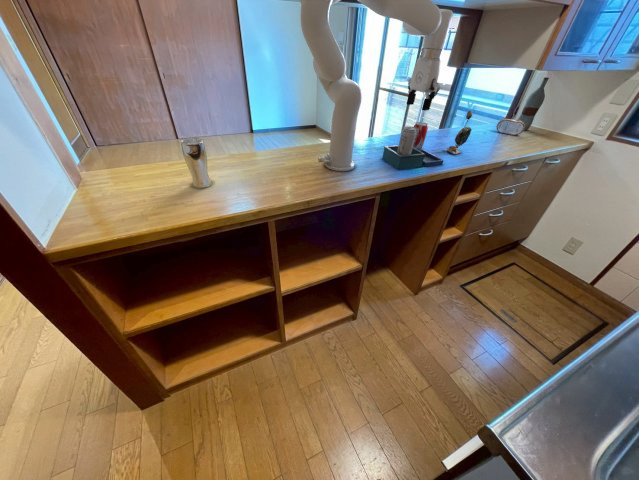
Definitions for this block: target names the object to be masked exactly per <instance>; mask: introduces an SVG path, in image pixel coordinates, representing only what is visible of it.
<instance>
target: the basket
mask: <svg viewBox="0 0 639 480" xmlns="http://www.w3.org/2000/svg"><path fill="white" fill-rule="evenodd" d="M398 146H399V144H395V145H394V144H393V145H384V147H383V153H382V157H381V160H383V161H384V162H385V163H387V164H388V165H390V166H392V167H393V168H394V169H396V170H398V171H400V170H408V169H416V168H422V167H423V166H422V163H423V160H424V157H425V155H426V154H424V153H423V152H421V151H419V150H420V149H419V150H417V149H415V148H414V147H413V148H412V152H411V155H404V156H401V155H400V154H398V153H397V150H398Z"/></svg>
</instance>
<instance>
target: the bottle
mask: <svg viewBox="0 0 639 480" xmlns="http://www.w3.org/2000/svg"><path fill="white" fill-rule="evenodd" d="M549 80H550V77H545V76H544V77H543V79H542V81H541V83H540V85H539V87H537V88H536V89H535V90H534V91H533V92H532V93H531V94H529V96H528V97H527V99H526V101H525V103H524V105H523V108H522V111H521V112H520V115H519V116H518V118H517V119H516V120H518V121H522V122H524V124H525V128H524V131H523V132H525V131H528V130H529V129H530V127H532V124H533V122H534V120H535V117H536V115H537V114H538V112H539V110H540V108H541V107H542V105H543V103H544V101H545V98H546V94H545V87H546V85H547V83H548V81H549Z"/></svg>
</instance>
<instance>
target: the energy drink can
mask: <svg viewBox="0 0 639 480" xmlns="http://www.w3.org/2000/svg"><path fill="white" fill-rule="evenodd" d="M415 137H416V128H414V126H404V128H403V129H402V131H401V133H400V138H399V141H398V145H399V146H398V150H397V153H398V154H400V155H401V156H404V155H411V152H412V148H413V144H414V141H415Z"/></svg>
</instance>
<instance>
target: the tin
mask: <svg viewBox="0 0 639 480" xmlns="http://www.w3.org/2000/svg"><path fill="white" fill-rule="evenodd" d="M524 128H525V124H524V122H522V121H518V120H517V119H512V118H503V119H500V120H499V121H498V122H497V123H496V131H497V132H498V133H499V134H504V135H510V136H518V135H520V134H522V133H523V132H525V131H524Z"/></svg>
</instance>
